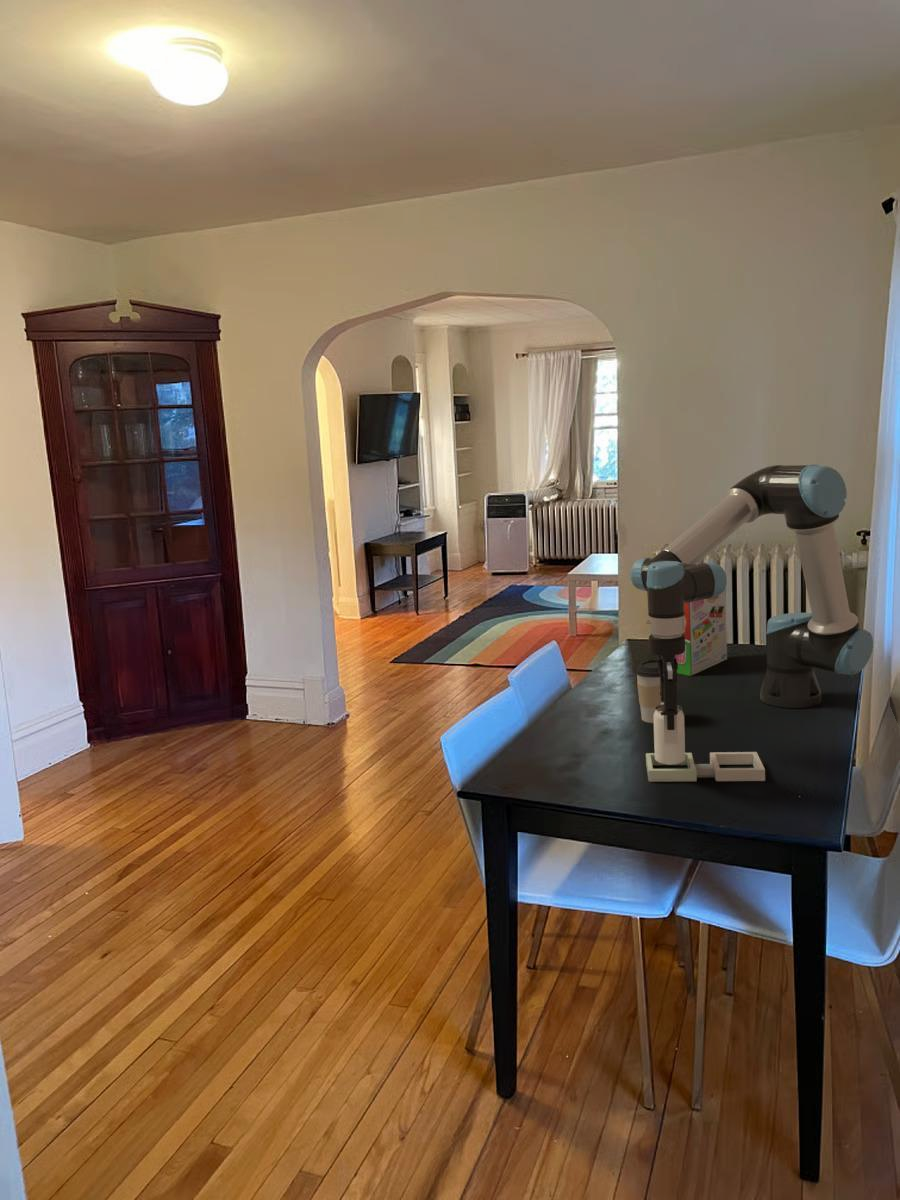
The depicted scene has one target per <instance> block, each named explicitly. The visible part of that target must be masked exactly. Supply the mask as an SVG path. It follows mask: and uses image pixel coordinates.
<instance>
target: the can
mask: <svg viewBox="0 0 900 1200" xmlns="http://www.w3.org/2000/svg"><path fill="white" fill-rule="evenodd" d="M655 709H656V711H655V713H654V723H653V744H654V749H653V750H654V753H655V760H656V761H657V762H658V763H660V764H663V765H662V766H679V765H678V764H681V763H682V762H683V761H684V760H685V753H686V744H685V743H686V739H685V738H686V737H685V736H686V735H685V733H686V732H685V731H686V730H685V713H684V712H683V708H682V706H681V705H678V704H677V711H678V713H677V743H664V716H663V715H661V712H664V704H663V705H659V706H657V707H656V708H655Z"/></svg>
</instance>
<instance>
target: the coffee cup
mask: <svg viewBox="0 0 900 1200" xmlns="http://www.w3.org/2000/svg"><path fill="white" fill-rule="evenodd" d="M635 674H636V678H637V679H636V681H637V682H636V683H637V693H638V703H639V705H640V707H639V709H640V714H641V716H640V717H641V721H643V722H645V723H649V724H654V713H655V711H656V709H655V708H656V707H657V706H659V705H661V703H664V702H661V696H660V677H659V667H658V659H655V658H654V659H652V658H651V659H648V660H646V661H644V662H641V663H639V665H638V666H637V667H636V668H635Z"/></svg>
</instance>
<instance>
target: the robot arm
mask: <svg viewBox="0 0 900 1200" xmlns="http://www.w3.org/2000/svg"><path fill="white" fill-rule="evenodd" d="M843 478H844V477H842V475H841V474H840V472H838V471H837V470H836V469H834V468H833V467H831V466H829V465H828V466H827V465H818V464H807V465H803V464H800V465H798V464H797V465H793V464H792V465H791V464H790V465H784V464H783V465H781V464H780V465H779V464H777V465H774V464H773V465H770V466H767V467H764V468H760V469H758V470H757V471H754V472H752V473H751V474H749V475H747V476H746V477H744V478H742V479H741V480H739V481H738V482H737V483H735V484H734V485H733V486H732V487H730V488H729V489H728V490H727V491H726V492H725V494H724V496H723V500H721V501H720V502H719V503H717V505H715V506H714V507H713V508H712V509H710V510H709V511H708V512H707V513H706V514H704V515H703V516H702V517H701V518H700V519H698V520H697V521H696V522H695V523H694V524H692V525H691V526H690V527H689V528H687V530H685V531H684V532H683V533H682V534H680V535H679V536H678V537H677V538H676V539H674V540H673V541H672V542H671V543H670V544H668V545H667V546H665V547H664V548H663V549H662V550H661V551H660V552H658V553H657V554H656V555H655V556H654V557H652V558H651V557H646V558H644V557H643V558H640V559H638V560H636V561H635V562H634V563H633V565H632V566H631V568H630V580H631V583H632V585H633V586H634V587H635V588H636V589H638V590H641V591H645V592H647V611H648V612H647V615H648V619H645V624H646V625H648V633H649V634H650V635H649V636H648V649H649V653H651V654H652V655H655V656H658V659H657V660H658V667H659V677H660V696H661V702H664V703H661V705H663V704H664V712H661V715H663V716H664V743H677V713H678V711H677V705H678V695H677V694H678V693H677V691H678V690H677V682H678V674H677V669H678V663H677V661H676V658H675V657H676V656H675V655H680V654H682V653H684V652H685V636H684V635H683V633H685V612H684V603H689V602H693V601H698V600H703V599H710V598H712V597H714V596H717V595H720V594H721V593H722V592H723V591H724V590H725V588H726V587H727V580H728V579H727V574H726V572H725V570H724V568H723V567H722V566H721V565H720V564H718V563H716V562H703V563H700V562H701V561H702V560H704V559H705V557H706V556H708V555H709V554H710V553H711V552H713V550H715V549H717V547H719V546H720V545H721V544H722V543H723V542H724V541H725V540H727V539H728V538H729V537H730V536H731V535H733V534H734V533H735V532H736V531H737V530H738V529H739V528H741V527H742V526H743V525H744V524H745V523H747V524H749V523H753V522H754V521H756V520H757V519H758V518H759V517H763V516H764V515H773V514H775V515H784V518H785V524H786V527H787V529H789V530H791V531H793V532H794V533H795V538H796V543H797V548H798V552H799V553H798V554H799V559H800V561H801V562H800V563H801V564H800V565H801V568H802V573H803V577H804V582H805V586H806V587H805V588H806V592H807V598H808V601H809V607H810V612H791V613H789V612H788V613H781V614H778V615H774V616H772V617H770V618H769V619H768V620H767V625H766V633H765V634H766V666H767V667H766V673H765V676H764V678H763V681H762V685H761V687H760V692H759V693H760V697H759V699H760V701H762V702H763V703H764V704H768V705H770V706H774V707H779V708H785V709H786V708H787V709H802V708H803V709H804V708H811V707H814V706H817V705H819V704H820V703H821V702H822V691H821V688H820V685H819V681H818V680H817V679H818V678H817V676H816V674H815V669H819V670H824V671H828V672H832V673H836V674H837V675H841V674H842V675H847V676H852V675H857V674H858V673H860V672H861V671H863V669H864V668H865V667H866V666H867V664H869V660H870V659H871V657H872V654H873V650H874V638H873V635H872V633H871V632H869V631H868V630H867V629H864V628H861V627H860V623H859V618H858V616H857V615H856V614H855V613H854V612H851V610H850V606H849V600H848V596H847V590H846V585H845V580H844V578H845V577H844V574H843V567H842V563H841V557H840V551H839V547H838V541H837V535H836V529H835V524H836V522H837V521H838V520H839V518H840V513H841V512H843V509H844V507H845V506H846V501H845V499H847V495H848V493H847V486H846V483H845V480H844V479H843ZM698 563H700V564H698Z"/></svg>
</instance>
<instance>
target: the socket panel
mask: <svg viewBox="0 0 900 1200" xmlns="http://www.w3.org/2000/svg"><path fill="white" fill-rule="evenodd" d="M645 765H646V772H647V779H648V782H662V783H663V782H697V780H698V778H714V781H716V782H766V769H765V767H764V764H763V762H762V760H761V758H760V757H759V754H758V752H757V751H742V752H741V751H734V752H733V751H726V752H724V751H723V752H722V751H720V752H719V751H717V752H716V751H715V752H712V751H711V752H709V763H695V761H694V757H693V753H692V752H685V760H684V761H683V762H682V763H681V764H678V765H677V766H687V768H654V767H653V766H664V765H663V764H660V763H658V762H657V761H656V760H655V752H649V753H648V752H647V753H645ZM720 765H721V766H723V765H726V766H727V765H728V766H729V765H732V766H733V765H752V766H753V767H722V768H721V766H720Z"/></svg>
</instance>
